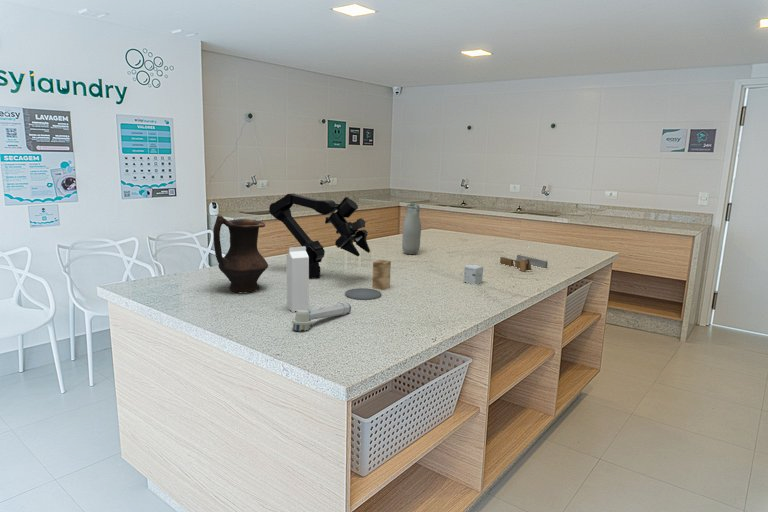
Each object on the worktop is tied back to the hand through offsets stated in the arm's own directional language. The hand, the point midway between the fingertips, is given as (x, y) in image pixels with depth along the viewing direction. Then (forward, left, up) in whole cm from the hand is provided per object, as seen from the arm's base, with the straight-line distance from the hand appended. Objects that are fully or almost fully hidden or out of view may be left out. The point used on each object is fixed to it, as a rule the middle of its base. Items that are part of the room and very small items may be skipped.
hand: (364, 253), depth 211 cm
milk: (-31, -28, -13) cm, 44 cm away
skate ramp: (+84, +20, -14) cm, 88 cm away
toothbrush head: (-25, -42, -14) cm, 51 cm away
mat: (-4, -15, -13) cm, 20 cm away
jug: (-49, +1, -13) cm, 51 cm away
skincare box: (+48, -5, -13) cm, 50 cm away
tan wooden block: (+6, -6, -13) cm, 16 cm away
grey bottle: (+43, +60, -13) cm, 75 cm away
